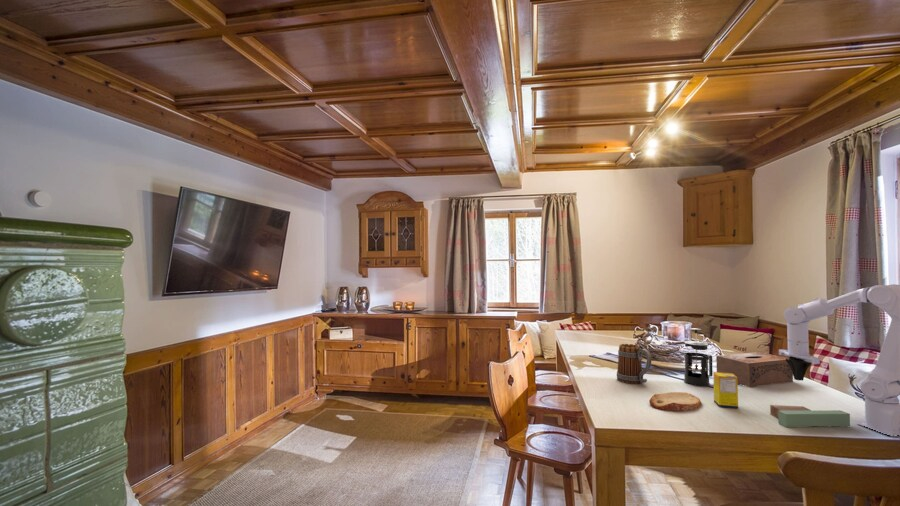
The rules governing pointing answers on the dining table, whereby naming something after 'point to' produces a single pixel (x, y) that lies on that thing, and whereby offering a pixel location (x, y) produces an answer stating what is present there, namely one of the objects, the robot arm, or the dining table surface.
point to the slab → (785, 409)
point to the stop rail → (813, 418)
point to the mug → (632, 364)
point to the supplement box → (725, 390)
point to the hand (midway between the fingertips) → (798, 379)
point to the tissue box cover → (755, 368)
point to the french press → (691, 377)
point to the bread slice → (675, 401)
